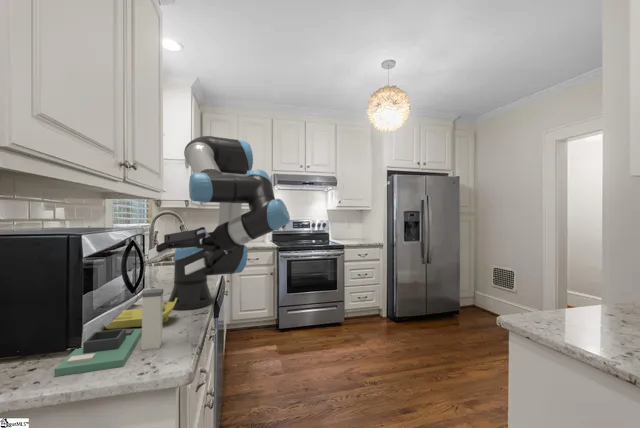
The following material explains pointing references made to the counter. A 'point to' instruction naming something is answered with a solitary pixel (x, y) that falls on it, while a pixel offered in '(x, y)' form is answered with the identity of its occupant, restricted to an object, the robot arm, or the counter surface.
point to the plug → (152, 318)
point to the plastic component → (138, 317)
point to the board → (101, 352)
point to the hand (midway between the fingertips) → (168, 263)
